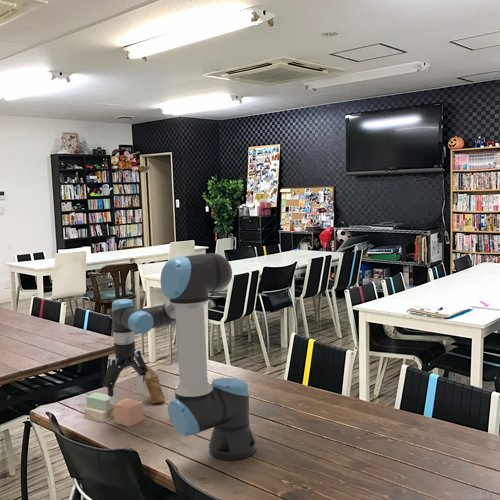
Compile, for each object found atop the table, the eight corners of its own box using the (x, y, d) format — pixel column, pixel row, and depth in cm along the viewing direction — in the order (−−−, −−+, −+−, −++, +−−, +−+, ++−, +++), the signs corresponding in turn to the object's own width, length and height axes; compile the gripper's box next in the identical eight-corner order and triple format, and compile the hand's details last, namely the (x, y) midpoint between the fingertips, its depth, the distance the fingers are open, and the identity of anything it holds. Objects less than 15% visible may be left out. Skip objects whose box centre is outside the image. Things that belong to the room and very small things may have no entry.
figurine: (163, 405, 227) (161, 368, 225) (142, 405, 227) (140, 368, 225) (166, 397, 235) (165, 361, 233) (147, 397, 235) (145, 362, 233)
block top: (96, 402, 222) (95, 392, 222) (115, 406, 217) (115, 396, 217) (86, 406, 218) (86, 396, 217) (106, 411, 213) (105, 400, 212)
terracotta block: (128, 415, 217) (127, 398, 217) (143, 420, 213) (142, 402, 212) (114, 422, 212) (113, 404, 211) (129, 427, 207) (128, 408, 206)
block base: (100, 410, 224) (100, 400, 224) (119, 415, 218) (118, 405, 218) (84, 418, 217) (84, 407, 217) (103, 423, 212) (102, 413, 211)
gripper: (141, 332, 221) (144, 385, 224) (90, 349, 201) (93, 407, 204) (155, 335, 217) (158, 389, 220) (104, 352, 197) (108, 411, 199)
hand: (127, 398), depth 212 cm, fingers open, 13 cm apart
